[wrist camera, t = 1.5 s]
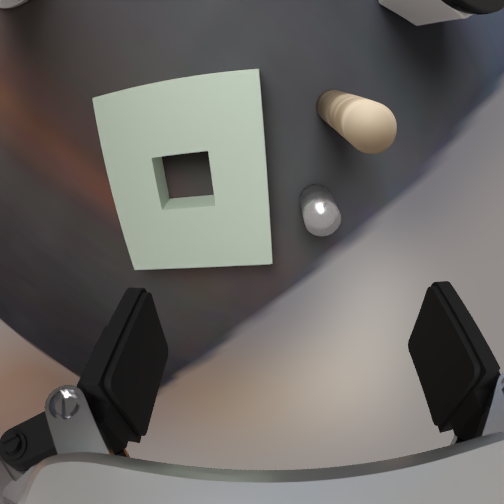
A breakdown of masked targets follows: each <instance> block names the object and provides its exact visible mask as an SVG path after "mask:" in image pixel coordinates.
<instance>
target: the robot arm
mask: <svg viewBox="0 0 504 504" xmlns="http://www.w3.org/2000/svg"><path fill="white" fill-rule="evenodd" d="M27 1H28V0H0V8H14V7H17V6H20V5H22V4H24V3H25V2H27ZM408 348H409V352H410V355H411V357H412V360H413V363H414V365H415V368H416V371H417V374H418V376H419V380H420V382H421V385H422V388H423V391H424V394H425V397H426V400H427V404H428V407H429V410H430V413H431V416H432V420H433V422H434V424H435V425H436V426H438V428H439V431H440V433H441V432H445V431H449V430H452V429H453V430H454V434H455V435H454V438H453V440H452V442H451V444H450V446H447V447H442V448H438V449H435V450H431V451H426V452H422V453H418V454H414V455H409V456H404V457H399V458H394V459H389V460H384V461H377V462H371V463H364V464H356V465H349V466H340V467H330V468H319V469H302V470H231V469H215V468H202V467H193V466H183V465H175V464H167V463H160V462H153V461H147V460H141V459H135V458H130V456H129V454H128V453H127V451H126V449H125V448H126V447H127V443H128V441H132V442H137V443H140V439H141V436H145V435H146V433H147V430H148V426H149V422H150V418H151V414H152V411H153V407H154V403H155V399H156V396H157V392H158V389H159V385H160V382H161V378H162V374H163V371H164V367H165V364H166V361H167V357H168V346H167V343H166V340H165V337H164V333H163V330H162V327H161V324H160V321H159V318H158V315H157V311H156V308H155V305H154V301H153V298H152V295H151V293H149V292H147V291H146V289H145V288H128V289H127V290H126V292H125V294H124V295H123V297H122V299H121V301H120V303H119V305H118V307H117V309H116V311H115V312H114V314H113V316H112V318H111V320H110V322H109V324H108V325H107V326H106V327H105V328H104V330H103V332H102V334H101V336H100V338H99V340H98V342H97V344H96V346H95V348H94V350H93V352H92V354H91V356H90V358H89V361H88V363H87V365H86V367H85V369H84V371H83V373H82V376H81V378H80V380H79V382H78V384H77V387H75V386H72V385H64V386H61V387H58V388H56V389H55V390H53V391H52V392H51V393H50V394H49V396H48V398H47V399H46V402H45V411H44V412H42V413H40V414H38V415H37V416H34V417H33V418H31V419H29V420H27V421H25V422H23V423H21V424H19V425H17V426H15V427H13V428H11V429H9V430H7V431H6V432H5V433H4V434H3V435H2V437H1V439H0V504H504V373H502V374H500V372H499V369H500V367H499V365H498V363H497V361H496V359H495V357H494V355H493V353H492V351H491V350H490V348H489V346H488V344H487V342H486V340H485V339H484V337H483V335H482V334H481V332H480V330H479V328H478V326H477V325H476V323H475V321H474V320H473V318H472V317H471V315H470V313H469V311H468V310H467V308H466V307H465V305H464V304H463V302H462V300H461V299H460V297H459V296H458V294H457V292H456V291H455V289H454V288H453V286H452V285H451V284H450V282H448V281H444V282H434V283H433V284H432V285H431V287H429V288H428V289H427V291H426V294H425V297H424V301H423V304H422V306H421V309H420V312H419V315H418V318H417V320H416V323H415V326H414V329H413V331H412V334H411V336H410V339H409V343H408Z"/></svg>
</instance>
